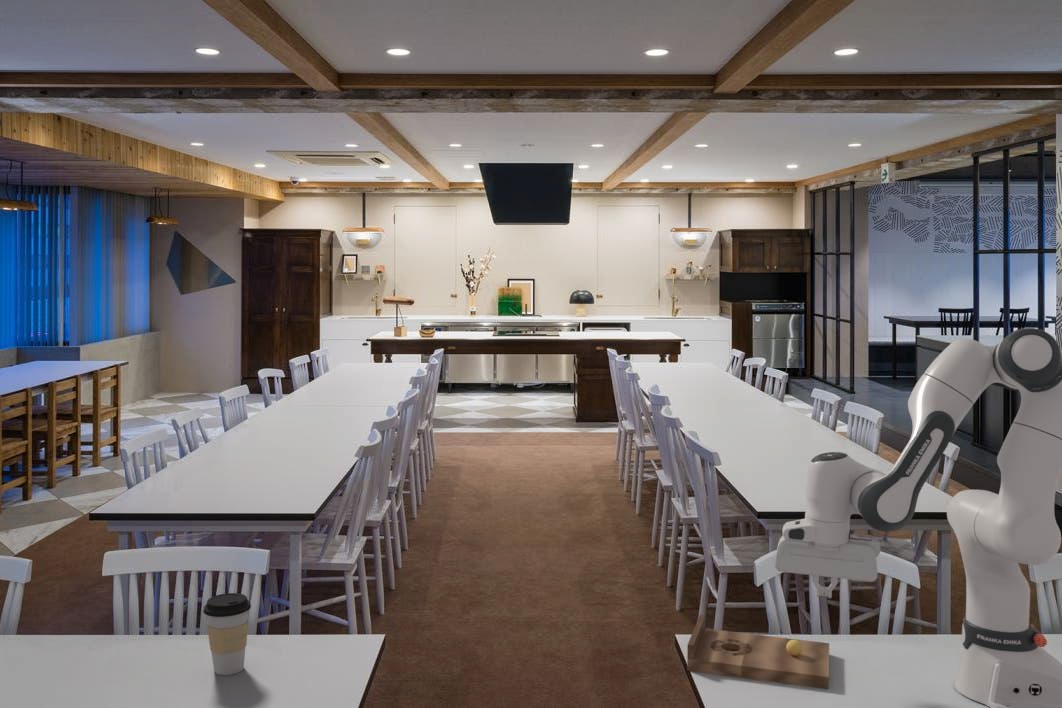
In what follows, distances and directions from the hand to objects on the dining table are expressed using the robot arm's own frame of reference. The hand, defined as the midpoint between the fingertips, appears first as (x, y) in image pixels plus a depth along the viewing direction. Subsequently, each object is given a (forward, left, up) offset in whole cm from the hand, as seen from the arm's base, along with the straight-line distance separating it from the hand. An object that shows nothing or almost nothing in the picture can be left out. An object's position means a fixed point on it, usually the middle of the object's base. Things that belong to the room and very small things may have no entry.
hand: (824, 596), depth 188 cm
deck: (+13, 0, -16) cm, 20 cm away
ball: (+6, 0, -12) cm, 13 cm away
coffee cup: (+118, +39, -16) cm, 125 cm away
